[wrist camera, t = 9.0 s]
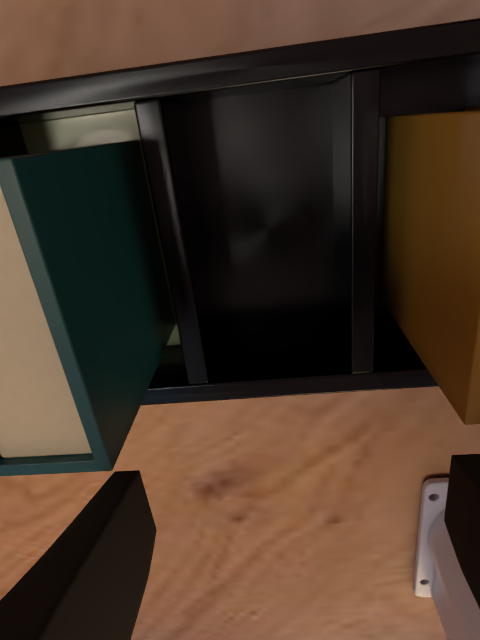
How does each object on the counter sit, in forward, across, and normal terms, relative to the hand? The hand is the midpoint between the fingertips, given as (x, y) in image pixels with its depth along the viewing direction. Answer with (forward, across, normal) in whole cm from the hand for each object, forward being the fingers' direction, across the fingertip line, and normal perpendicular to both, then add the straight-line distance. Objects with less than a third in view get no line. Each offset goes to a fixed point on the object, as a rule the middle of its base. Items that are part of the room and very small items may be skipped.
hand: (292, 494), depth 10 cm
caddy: (+10, 0, -4) cm, 11 cm away
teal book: (+9, +6, -4) cm, 12 cm away
